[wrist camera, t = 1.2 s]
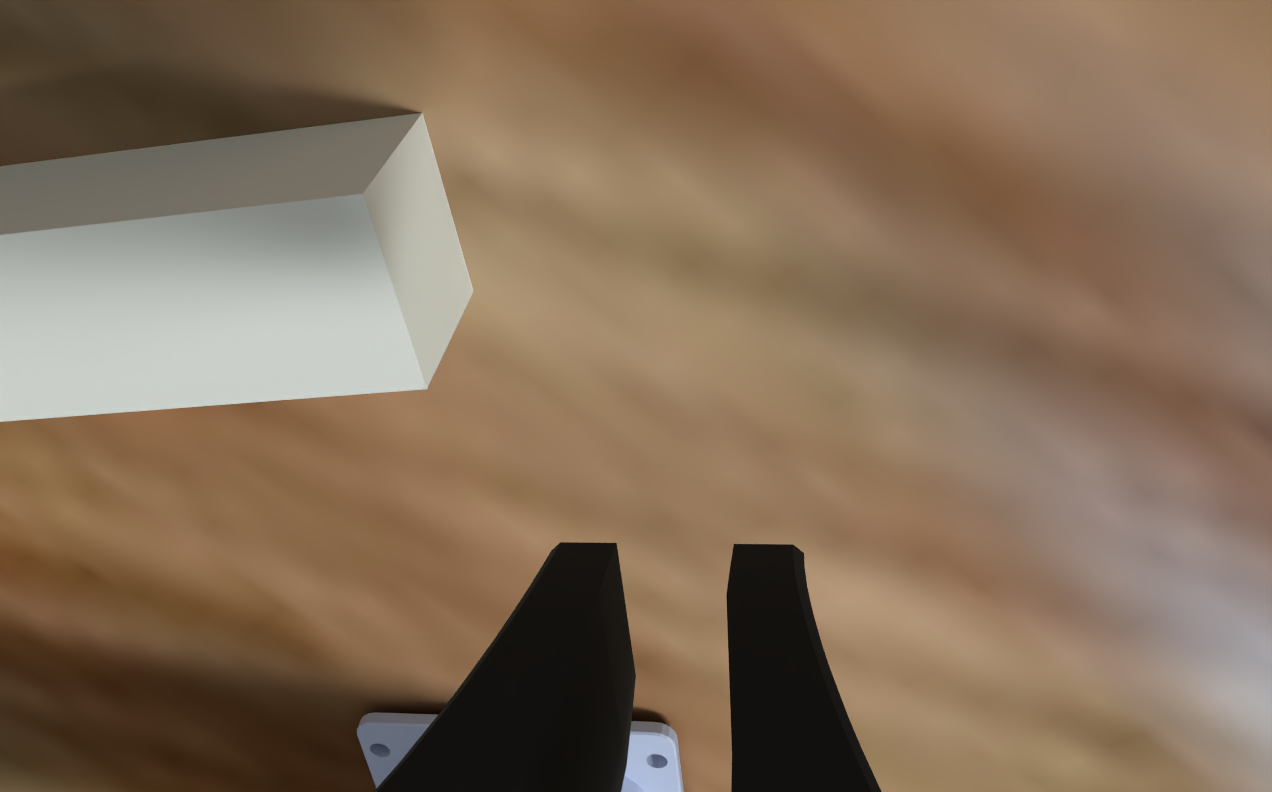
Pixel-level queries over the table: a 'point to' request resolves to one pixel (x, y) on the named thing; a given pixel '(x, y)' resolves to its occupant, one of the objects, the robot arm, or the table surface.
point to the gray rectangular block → (227, 271)
